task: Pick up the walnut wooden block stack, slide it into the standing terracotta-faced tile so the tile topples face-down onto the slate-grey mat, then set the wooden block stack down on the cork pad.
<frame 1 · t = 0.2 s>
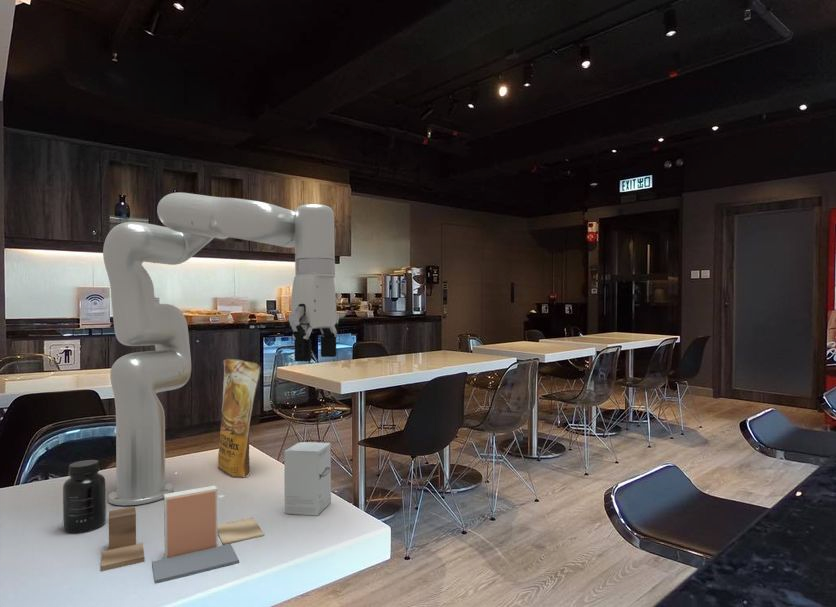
hand: (316, 358, 100), 31 cm above the table, tool pointing down, fingers open, 9 cm apart
tile: (191, 551, 88), on the table
supplement bottle: (84, 527, 99), on the table
mat: (195, 563, 83), on the table
pad: (238, 531, 96), on the table
wooden block stack: (122, 547, 90), on the table
supplement box: (308, 509, 106), on the table
pancake mix bag: (236, 470, 134), on the table
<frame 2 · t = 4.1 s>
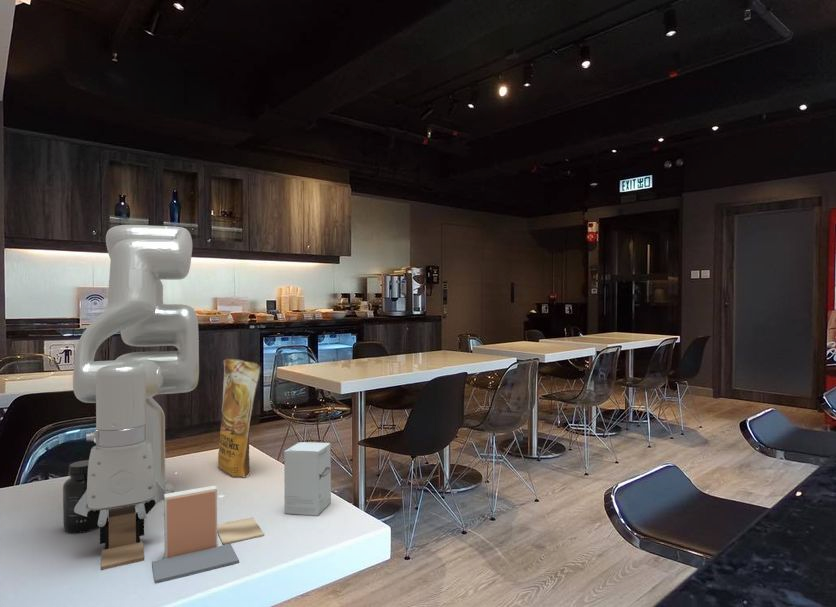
hand: (122, 542, 90), 1 cm above the table, tool pointing down, fingers closed on wooden block stack, 3 cm apart
wooden block stack: (122, 545, 90), on the table, touching gripper
everything else where it was.
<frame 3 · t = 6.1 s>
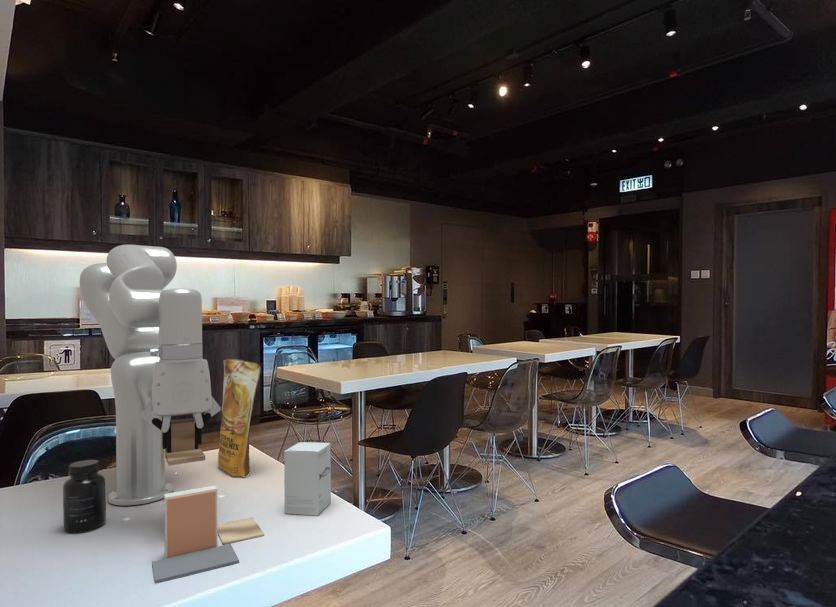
hand: (182, 449, 99), 14 cm above the table, tool pointing down, fingers closed on wooden block stack, 4 cm apart
wooden block stack: (182, 452, 99), point 14 cm above the table, touching gripper
everything else where it was.
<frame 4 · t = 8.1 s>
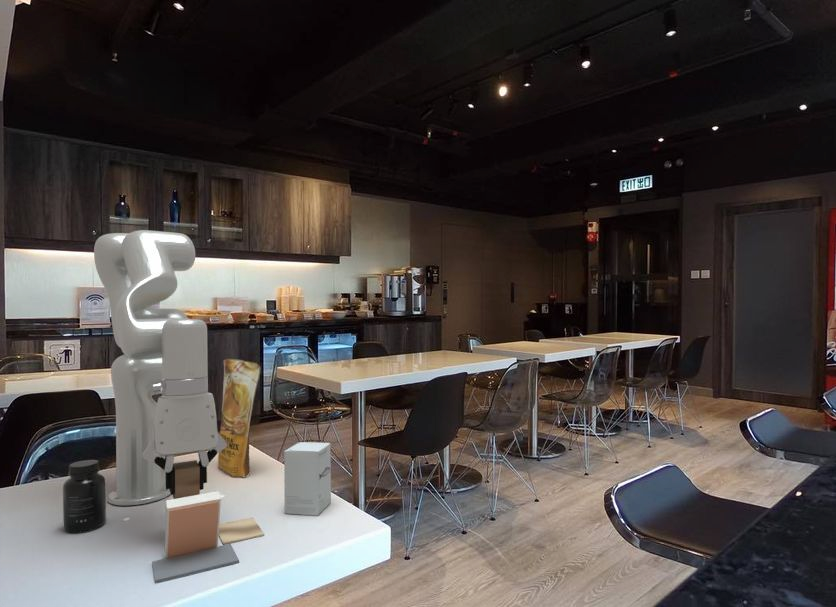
hand: (186, 489, 94), 8 cm above the table, tool pointing down, fingers closed on wooden block stack, 4 cm apart
tile: (191, 549, 88), resting in mat, tilted 21°
wooden block stack: (186, 497, 94), point 7 cm above the table, touching gripper
everything else where it was.
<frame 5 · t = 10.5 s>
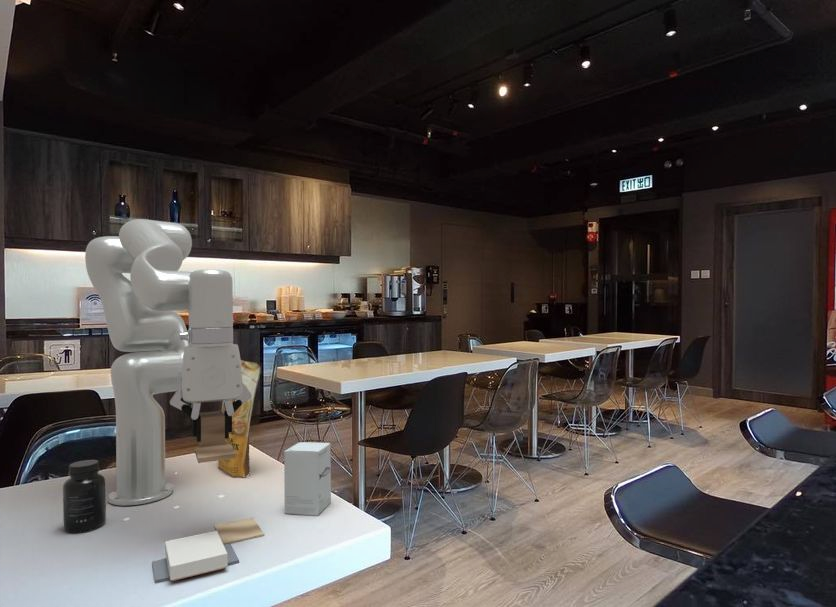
hand: (212, 437, 95), 17 cm above the table, tool pointing down, fingers closed on wooden block stack, 4 cm apart
tile: (191, 541, 87), point 2 cm above the table, tilted 90°, touching mat
wooden block stack: (211, 447, 96), point 16 cm above the table, touching gripper
everything else where it was.
when the fingers open (3 cm above the table, at t = 12.8 s): wooden block stack stays where it is, resting on pad.
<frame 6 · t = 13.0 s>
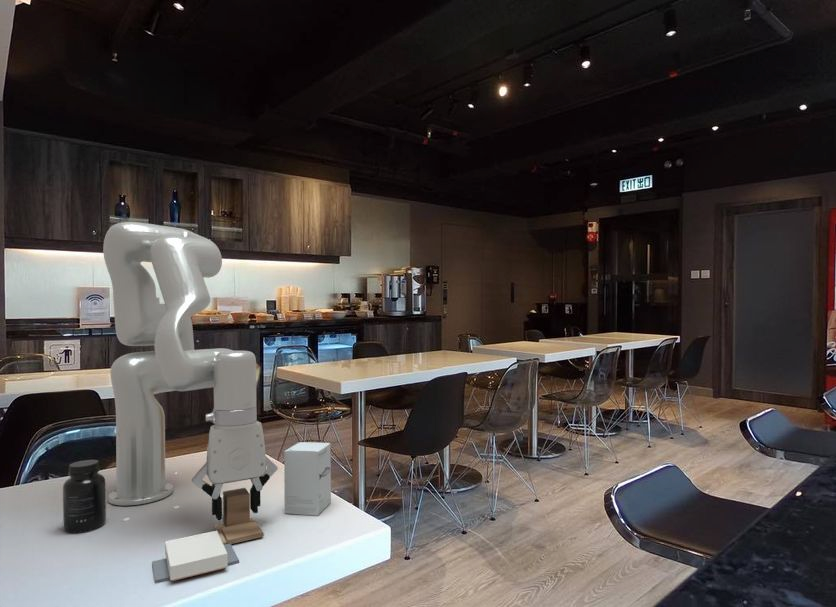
hand: (236, 513, 97), 3 cm above the table, tool pointing down, fingers open, 5 cm apart
wooden block stack: (236, 524, 98), resting on pad
everything else where it was.
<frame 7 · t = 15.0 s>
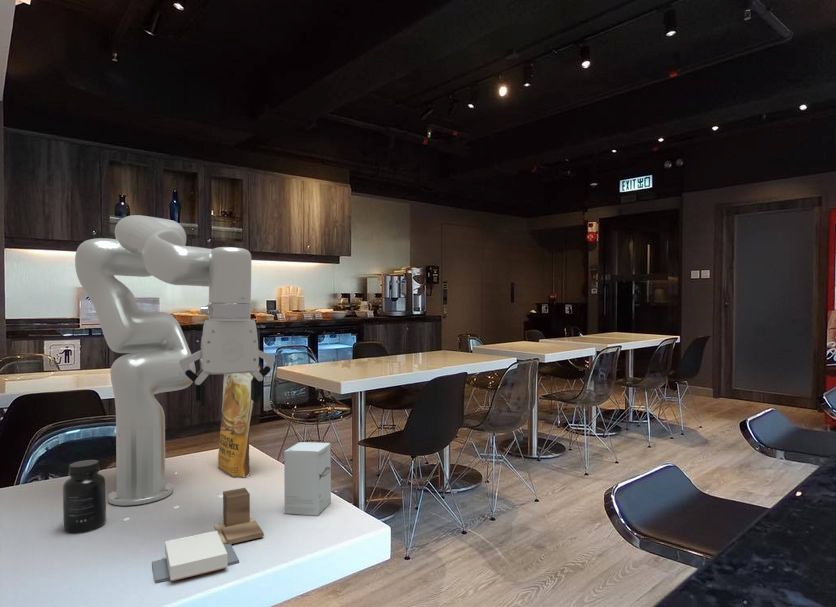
hand: (228, 402, 99), 23 cm above the table, tool pointing down, fingers open, 9 cm apart
nothing on the table moved.
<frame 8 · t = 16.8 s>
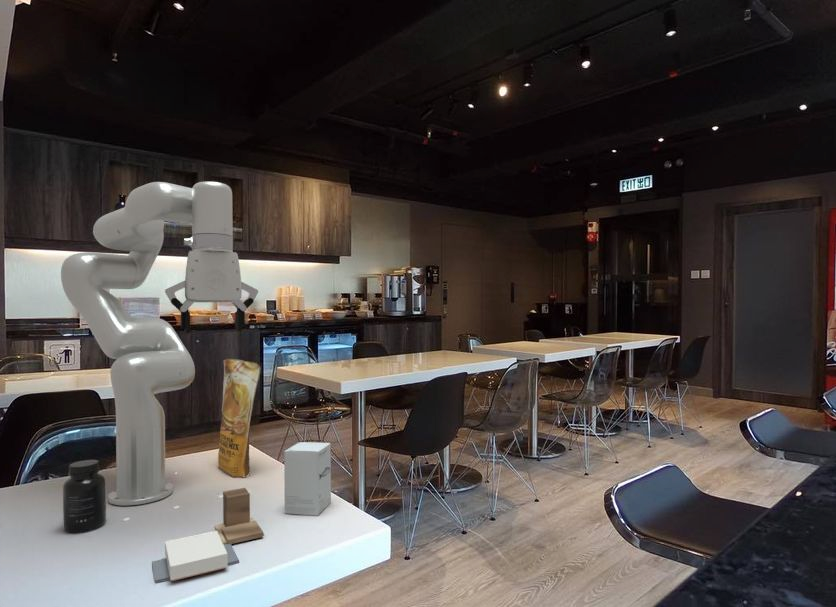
hand: (213, 331, 104), 36 cm above the table, tool pointing down, fingers open, 9 cm apart
nothing on the table moved.
at the end: tile tilted 90°; tile inside the target area (5.4 cm from its centre), point 1.7 cm above the table; wooden block stack inside the target area (1.5 cm from its centre), resting on pad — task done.
